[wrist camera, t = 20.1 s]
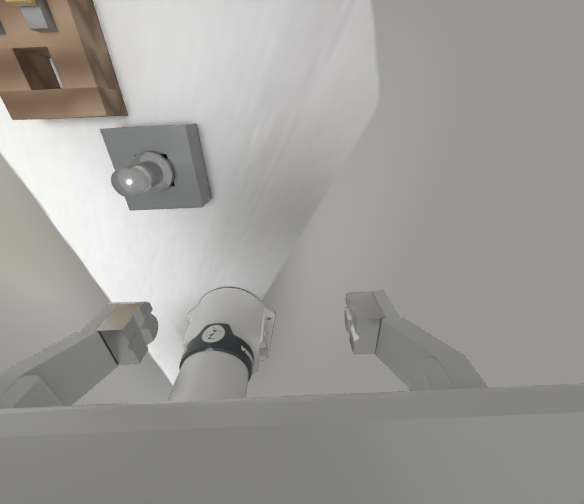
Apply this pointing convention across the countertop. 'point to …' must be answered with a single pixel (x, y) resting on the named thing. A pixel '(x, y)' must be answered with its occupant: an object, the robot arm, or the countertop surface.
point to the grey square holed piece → (181, 154)
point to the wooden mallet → (22, 2)
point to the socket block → (56, 62)
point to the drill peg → (144, 175)
